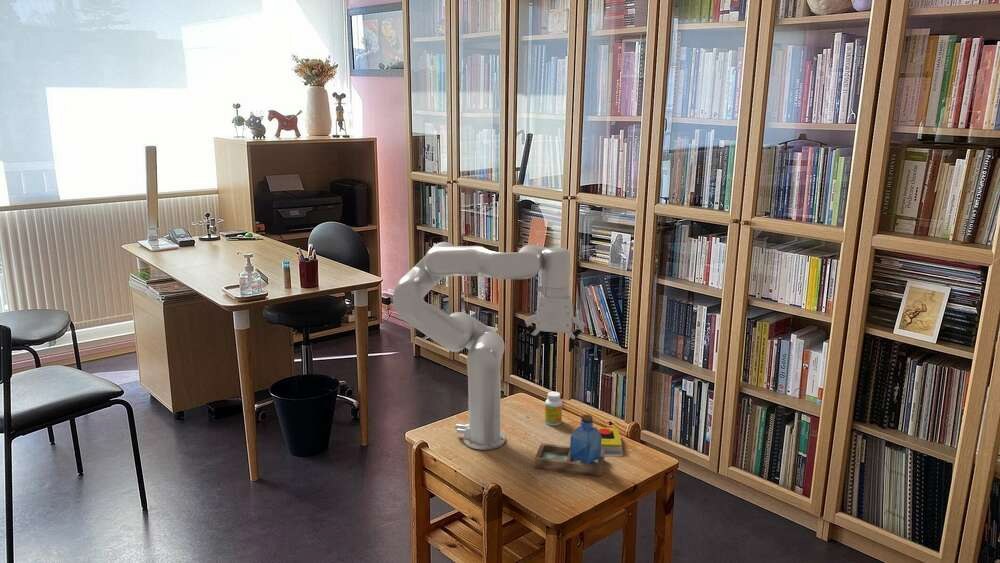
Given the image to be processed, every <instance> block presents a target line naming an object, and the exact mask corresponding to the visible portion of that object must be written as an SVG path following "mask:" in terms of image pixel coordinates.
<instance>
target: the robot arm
mask: <svg viewBox="0 0 1000 563" xmlns="http://www.w3.org/2000/svg"><path fill="white" fill-rule="evenodd" d="M570 270H571V252H570V251H569V249H568V248H565V247H559V246H558V247H557V246H555V247H554V246H552V247H547V246H546V247H545V246H541V245H540V246H539V245H533V244H526V245H524V246H522V247H521V248H520V249H519V251H516V252H499V251H493V250H489V249H488V248H486V247H484V246H481V245H463V246H462V245H458V246H455V245H454V244H453V243H450V242H448V241H441V242H438V243H436V244H434V245H433V246H432V247H431V248H429V249H428V251H426V254H425V255H424V256H423V257H422V259H420V260H419V261H418V263H416V264H415V265H414V266H413V267H412V268H411V269H410V270H409V271H408V272H406V274H405V275H403V276H401V278H400V279H399V280H398V281H397V283H396V284H395V286H394V289H393V293H392V299H393V300H392V301H393V306H394V309H395V311H396V313H397V315H398V317H400V318H401V319H402V321H404V322H405V323H407V324H408V325H409V326H412V327H413V328H415V329H416V330H418V331H419V332H421V333H422V334H424V335H425V336H426V337H428V338H429V339H431V340H433V341H434V342H436V343H437V344H438V345H440V346H441V347H443V348H444V349H446V350H448V351H450V352H454V353H457V352H458V353H459V352H460V351H462V350H464V349H465V348H466V349H467V350H469V351H468V353H467V360H466V367H467V368H466V369H467V379H468V380H467V381H468V382H467V384H468V385H467V386H468V389H467V390H468V423H466V424H462V423H455V427H454V429H455V430H456V433H457V434H463V438H462V439H463V444H465V446H467V447H469V448H471V449H474V450H480V451H486V450H488V451H490V450H494V449H497V448H500V447H501V446H503V445H504V444H505V442H506V435H505V434H504V432H502V431H501V400H502V399H501V397H502V396H501V393H502V392H501V385H502V384H501V381H502V380H501V361H502V359H503V355H504V353H505V348H506V347H505V342H504V339H503V337H502V336H501V335H500V334H499V333H497V331H495V330H493V329H492V328H490V327H489V326H487V325H486V324H484V323H483V322H482V321H480V320H479V319H477V318H475V317H474V316H472V315H470V314H469V313H467V312H466V313H465V312H462V311H456V312H453V313H450V314H447V313H446V312H444V311H443V310H442V309H440V308H439V307H437V306H436V305H433V304H431V303H428V302H426V301H425V297H426V296H427V295H428V293H429V292H430V291H431V290H432V289H433V288H434V287H435V286H436V285H437V284H438V283H439V282H441V280H442V279H444V277H474V276H475V277H482V278H483V277H484V278H490V279H497V280H526V279H532V278H533V277H536V276H537V275H538V274H539V272H540V271H541V272H542V282H541V283H542V285H540V286H538V285H537V287H536V288H537V289H536V291H537V292H540V293H541V294H540V295H538V296H539V297H538V301H537V305H536V313H535V314H533V315H531V316H528V317H526V318H525V319H524V324H525V326H526V327H527V329H528V330H529V332H530V333H532V336H533V346H535V348H534V349H535V350H538V349H539V348H540V346H541V344H540V343H541V342H540V341H541V340H540V339H541V334H540V332H545V333H546V332H548V333H549V332H550V333H558V334H559V333H560V334H567V335H568V336H569V339H568V352H569V353H571V352H573V349H575V346H576V345H575V344H576V338H577V337H578V336H579V335H580V334H581V333H582V331H583V329H585V327H586V323H585V322H584V321H582V320H580V319H579V318H577V317H575V316H574V312H573V311H574V310H573V309H574V308H573V300H572V296H571V295H570V274H571V273H570V272H571V271H570ZM533 321H535V326H534V325H533V323H532V322H533ZM573 324H574V325H577V326H578V328H577V329H573Z"/></svg>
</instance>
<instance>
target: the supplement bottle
mask: <svg viewBox="0 0 1000 563" xmlns="http://www.w3.org/2000/svg"><path fill="white" fill-rule="evenodd" d="M562 415H563V401H562V400H561V393H560V392H558V391H549V392H548V393H547V399H545V403H544V423H545V424H546V425H549V426H559V425H561V424H562V420H563V418H562V417H563V416H562Z"/></svg>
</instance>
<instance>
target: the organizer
mask: <svg viewBox="0 0 1000 563" xmlns="http://www.w3.org/2000/svg"><path fill="white" fill-rule="evenodd" d="M604 454H605V450H601V456H600V457H598V458H597V459H596V460H594V461H593V462H591V463H590V464H587V463H584V462H581V461H579V460H576V459H573V458H571V457H570V445H563V444H562V445H560V444H554V443H553V444H552V443H545V442H540V444H539V447H538V449H537V452H536V455H535V457H534V468H533V469H534V470H543V471H548V472H549V471H550V472H557V473H564V474H573V475H581V476H588V477H596V478H601V477H602V473H603V472H602V471H603V468H604V463H605V456H604Z"/></svg>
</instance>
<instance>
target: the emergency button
mask: <svg viewBox="0 0 1000 563" xmlns="http://www.w3.org/2000/svg"><path fill="white" fill-rule="evenodd" d="M595 427H596V428H597V429H598V431H599V432H600V434H601V436H602V438H601V450H605V454H604V457H611V458H612V457H613V456H614V458H615V457H616V458H617V457H619V458H620V457H621V456H622V457H623V456H624V453H623V450H622V448H623V444H622V440H621V435H620V433H619V432H620V431H619V429H618V428H617V427H604V426H603V427H601V426H600V427H599V426H595Z"/></svg>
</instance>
